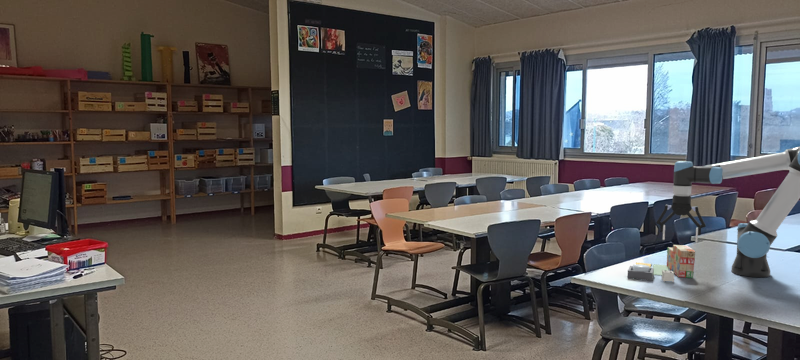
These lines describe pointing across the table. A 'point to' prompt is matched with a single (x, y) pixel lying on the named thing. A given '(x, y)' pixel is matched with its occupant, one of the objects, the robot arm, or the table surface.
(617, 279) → the table surface
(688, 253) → the printed cardboard box
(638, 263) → the pad
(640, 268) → the white rounded block
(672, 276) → the die
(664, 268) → the square one pad
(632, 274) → the box
